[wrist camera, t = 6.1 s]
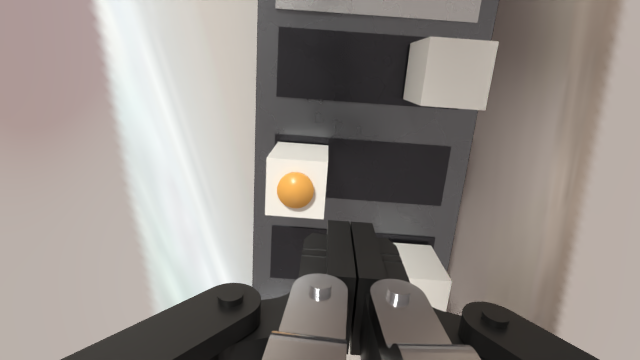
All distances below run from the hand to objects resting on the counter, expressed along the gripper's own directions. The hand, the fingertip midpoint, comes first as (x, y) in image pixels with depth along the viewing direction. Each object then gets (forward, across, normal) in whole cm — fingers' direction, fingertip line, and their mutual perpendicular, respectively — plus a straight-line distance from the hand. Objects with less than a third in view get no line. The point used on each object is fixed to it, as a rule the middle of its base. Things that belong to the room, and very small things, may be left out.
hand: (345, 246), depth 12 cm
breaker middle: (+10, +2, 0) cm, 11 cm away
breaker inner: (+10, -5, -6) cm, 13 cm away
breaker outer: (+10, -5, +6) cm, 13 cm away
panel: (+13, -1, 0) cm, 13 cm away
